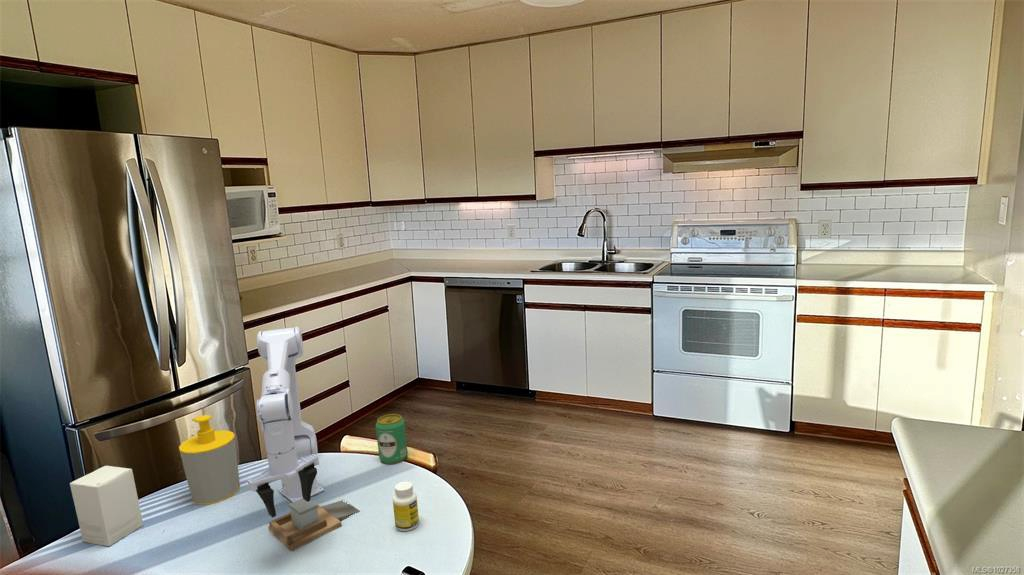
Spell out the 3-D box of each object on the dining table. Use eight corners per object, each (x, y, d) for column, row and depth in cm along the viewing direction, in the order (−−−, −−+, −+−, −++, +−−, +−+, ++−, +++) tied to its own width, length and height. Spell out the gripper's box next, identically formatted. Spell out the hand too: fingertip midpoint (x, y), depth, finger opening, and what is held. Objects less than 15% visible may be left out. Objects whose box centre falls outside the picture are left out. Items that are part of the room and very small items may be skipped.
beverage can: (375, 464, 163) (370, 424, 161) (385, 451, 170) (381, 413, 168) (402, 465, 161) (397, 424, 159) (411, 451, 169) (407, 413, 167)
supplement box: (145, 525, 140) (133, 467, 137) (109, 547, 132) (96, 487, 129) (118, 520, 143) (106, 464, 140) (81, 542, 135) (68, 482, 132)
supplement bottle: (414, 532, 129) (410, 492, 127) (391, 531, 130) (387, 491, 129) (422, 518, 134) (418, 480, 133) (400, 517, 136) (396, 479, 134)
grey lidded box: (291, 523, 134) (288, 504, 133) (308, 515, 137) (305, 496, 136) (302, 533, 130) (299, 513, 129) (320, 524, 133) (317, 504, 132)
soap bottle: (218, 477, 161) (205, 405, 158) (254, 483, 157) (242, 409, 153) (176, 502, 150) (162, 425, 146) (213, 509, 145) (200, 430, 141)
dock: (269, 532, 134) (267, 520, 134) (339, 499, 147) (338, 488, 146) (292, 553, 126) (290, 540, 125) (364, 516, 138) (363, 504, 138)
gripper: (253, 467, 114) (263, 529, 117) (322, 441, 124) (329, 499, 127) (240, 457, 119) (250, 517, 122) (307, 432, 129) (314, 488, 132)
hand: (289, 507), depth 125 cm, fingers open, 7 cm apart
